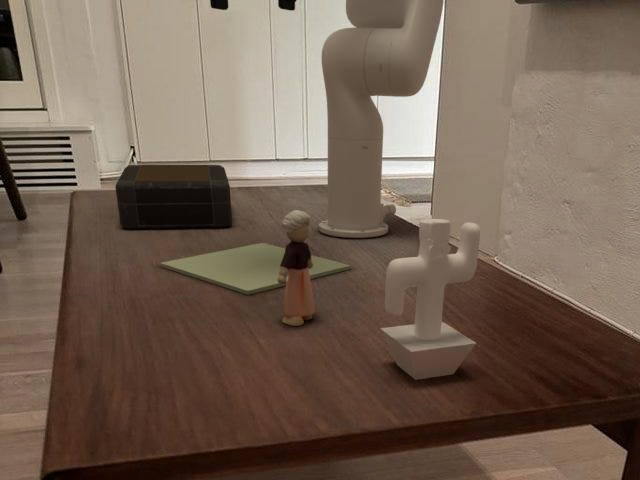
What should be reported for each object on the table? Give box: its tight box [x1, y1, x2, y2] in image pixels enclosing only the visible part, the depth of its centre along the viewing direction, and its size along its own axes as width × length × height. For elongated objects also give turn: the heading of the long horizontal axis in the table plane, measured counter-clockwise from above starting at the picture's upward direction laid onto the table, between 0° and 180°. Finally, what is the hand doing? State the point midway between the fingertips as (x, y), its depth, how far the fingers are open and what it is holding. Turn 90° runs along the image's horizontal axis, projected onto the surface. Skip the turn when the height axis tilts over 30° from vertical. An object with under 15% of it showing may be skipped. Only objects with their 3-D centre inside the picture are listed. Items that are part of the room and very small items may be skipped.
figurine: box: [379, 218, 481, 381], centre depth 73 cm, size 7×9×15 cm
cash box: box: [115, 164, 233, 230], centre depth 141 cm, size 25×20×8 cm
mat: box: [160, 242, 351, 296], centre depth 110 cm, size 20×20×1 cm
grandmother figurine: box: [277, 209, 316, 327], centre depth 87 cm, size 8×4×13 cm, turn 168°
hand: (252, 9), depth 92 cm, fingers open, 9 cm apart
